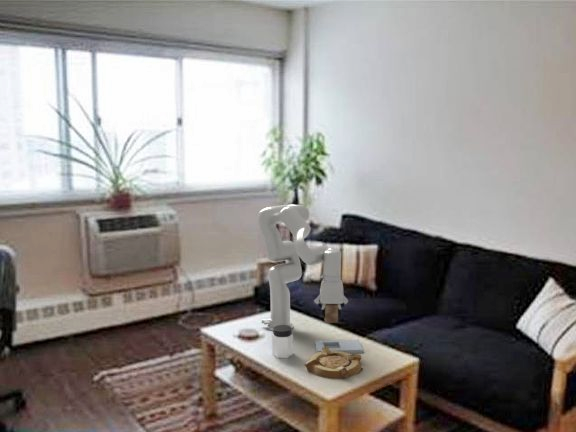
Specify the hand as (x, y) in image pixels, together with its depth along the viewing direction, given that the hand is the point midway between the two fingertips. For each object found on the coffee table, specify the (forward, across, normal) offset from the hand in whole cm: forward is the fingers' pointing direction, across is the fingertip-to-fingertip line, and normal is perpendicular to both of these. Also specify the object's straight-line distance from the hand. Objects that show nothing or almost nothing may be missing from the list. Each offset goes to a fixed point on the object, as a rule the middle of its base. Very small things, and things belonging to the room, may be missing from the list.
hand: (330, 316), depth 249 cm
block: (+2, 0, 0) cm, 2 cm away
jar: (+15, -21, -6) cm, 27 cm away
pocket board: (+15, +4, -1) cm, 15 cm away
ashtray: (+15, -1, -20) cm, 25 cm away
